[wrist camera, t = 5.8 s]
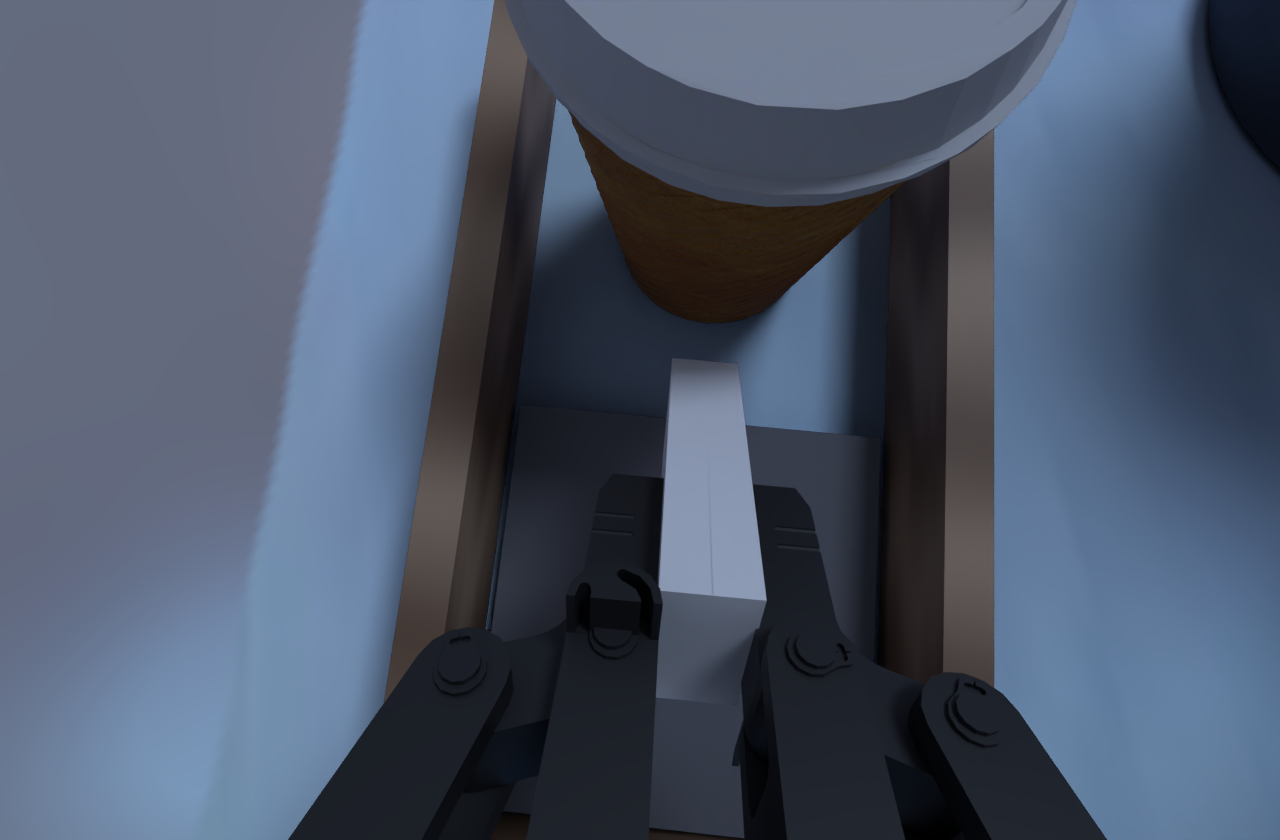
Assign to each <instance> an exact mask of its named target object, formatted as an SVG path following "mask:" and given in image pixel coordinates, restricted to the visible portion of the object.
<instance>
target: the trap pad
mask: <svg viewBox="0 0 1280 840" xmlns="http://www.w3.org/2000/svg"><path fill="white" fill-rule="evenodd" d="M745 428H746V436H747V444H748V452H749V460H750V468H751V477H752V484H756V485H767V486H778V487H789V488H796V490H797V491H798V492H799V493H800V495H801V496H802V497H803V499H804V500H805V501H806V503H807V504H808V505H809V506H810V508H811V512H812V516H813V521H814V525H815V529H816V530H815V534H817V538H818V542H819V547H820V548H819V552H821V555H822V560H823V564H824V568H825V573H826V577H827V581H828V586H829V590H830V594H831V599H832V603H833V607H834V612H835V616H836V620H837V622H838V625H839V628H840V630H841V632H842V633H843V634H844V635H845V636H846V637H847V638H848V639H849V640H850V641H851V642H852V643H853V645H854V647H855V649H856V650H857V651H858V652H859V653H860V654H862V655H863V656H864V657H866V658H867V659H868V660H870V661H871V662H873V663H874V643H875V611H876V578H877V546H878V514H879V481H880V449H881V438H875V437H864V436H854V435H843V434H832V433H822V432H811V431H800V430H790V429H779V428H768V427H758V426H747V425H745ZM665 429H666V418H662V417H651V416H640V415H629V414H619V413H608V412H597V411H587V410H576V409H565V408H555V407H544V406H533V405H523V404H521V410H520V417H519V425H518V432H517V440H516V448H515V455H514V463H513V470H512V478H511V485H510V493H509V501H508V508H507V516H506V523H505V531H504V538H503V546H502V553H501V561H500V569H499V576H498V584H497V591H496V599H495V606H494V614H493V622H492V629H491V632H492V633H493V634H495V635H497V636H498V637H500V638H501V640H502V641H503V642H508V641H512V640H517V639H522V638H527V637H532V636H535V635H538V634H542V633H545V632H547V631H549V630H551V629H553V628H554V627H556V626H558V625H559V624H560V623H562V622H563V621H564V620H565V619H566V593H567V591H568V589H569V587H570V585H571V583H572V580H574V579H575V578H576V577H577V576H578V575H579V574H580V573H581V572H583V571H584V567H585V562H586V557H587V551H588V546H589V541H590V536H591V533H592V525H593V520H594V515H595V510H596V504H597V499H598V494H599V490H600V489H601V488H602V487H603V485H604V484H605V483H606V482H607V480H608V479H609V478H610V477H611V476H612V474H624V475H635V476H647V477H658V478H662V463H663V449H664V439H665ZM742 722H743V704H742V691H741V694H740V698H739V702H738V705H737V706H736V705H726V704H716V703H706V702H696V701H686V700H676V699H666V698H656V702H655V722H654V742H653V761H652V781H651V801H650V820H649V828H658V829H666V830H675V831H684V832H693V833H702V834H711V835H720V836H728V837H737V838H744V824H743V807H742V790H741V773H740V764H739V767H738V766H732V760H733V754H734V749H735V746H736V742H737V739H738V736H739V732H740V729H741V726H742ZM537 781H538V776H535V777H531V778H527V779H524V780H520V781H517V782H516V784H515V786H514V788H513V791H512V793H511V795H510V797H509V799H508V801H507V804H506V806H505V808H504V810H503V811H507V812H516V813H525V814H531V812H532V807H533V801H534V796H535V791H536V786H537Z"/></svg>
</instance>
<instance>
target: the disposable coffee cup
mask: <svg viewBox="0 0 1280 840" xmlns="http://www.w3.org/2000/svg"><path fill="white" fill-rule="evenodd" d="M504 1H505V5H506V8H507V12H508V15H509V17H510V19H511V22H512V24H513V26H514V28H515V30H516V33H517V35H518V37H519V39H520V41H521V43H522V46H523V48H524V50H525V52H526V54H527V57H528V59H529V61H530V62H531V64H532V65H533V66H534V68H535V69H536V71H537V72H538V73H539V75H540V76H541V78H542V79H543V80H544V82H545V83H546V84H547V86H548V87H549V89H550V90H551V91H552V93H553V94H554V96H555V97H556V98H557V100H558V101H559V102H560V103H561V104H562V105H564V106H565V107H566V108H567V109H568V111H569V113H570V115H571V117H572V123H573V125H574V127H575V129H576V132H577V134H578V136H579V141H580V144H581V146H582V148H583V150H584V152H585V157H586V159H587V161H588V163H589V165H590V167H591V173H592V175H593V177H594V179H595V181H596V185H597V189H598V191H599V192H600V196H601V198H602V200H603V202H604V206H605V209H606V211H607V213H608V217H609V219H610V221H611V223H612V227H613V229H614V231H615V233H616V237H617V239H618V241H619V244H620V247H621V249H622V253H623V255H624V258H625V262H626V264H627V266H628V268H629V270H630V272H631V275H632V277H633V279H634V280H635V282H636V283H637V284H638V286H639V287H640V289H641V290H642V291H643V292H644V293H645V294H646V295H647V296H648V297H649V298H650V299H651V300H652V301H653V302H654V303H656V304H657V305H659V306H660V307H662V308H663V309H665V310H667V311H668V312H670V313H672V314H674V315H677V316H680V317H682V318H685V319H687V320H692V321H697V322H703V323H724V322H733V321H738V320H742V319H745V318H748V317H750V316H753V315H755V314H757V313H760V312H762V311H763V310H764V309H766V308H767V307H769V306H770V305H772V304H773V303H774V302H776V301H777V300H778V299H779V298H780V297H781V296H782V295H783V294H784V293H785V292H786V291H787V290H788V289H789V288H790V287H791V286H793V285H794V284H795V283H796V282H797V281H798V280H799V279H800V278H801V277H803V276H804V275H805V274H806V273H807V272H808V271H809V270H810V269H811V268H812V267H813V266H814V265H816V264H817V263H818V262H819V261H820V260H821V259H822V258H823V257H824V256H825V255H826V254H828V253H829V252H830V251H831V250H832V249H833V248H834V247H835V246H836V245H837V244H838V243H839V242H840V241H841V240H842V239H843V238H845V237H846V236H847V235H848V234H850V233H851V232H852V231H853V230H854V229H855V228H856V227H857V226H858V225H859V224H860V223H861V222H863V221H864V220H865V218H866V217H867V216H868V215H870V214H871V213H872V212H873V211H875V210H876V208H877V207H878V206H879V205H880V204H881V203H883V202H884V201H885V200H886V199H887V198H889V197H890V196H891V195H892V194H893V193H894V191H895V190H896V189H898V188H899V187H900V186H901V185H902V184H904V183H905V182H906V181H907V180H909V179H912V178H916V177H919V176H921V175H922V174H924V173H926V172H928V171H930V170H932V169H934V168H935V167H937V166H939V165H941V164H943V163H945V162H947V161H948V160H950V159H952V158H954V157H956V156H958V155H960V154H961V153H963V152H965V151H967V150H969V149H970V148H972V147H973V146H974V145H975V144H976V143H978V142H979V141H980V140H981V139H982V138H984V137H985V136H986V135H987V134H988V133H990V132H991V131H992V130H993V129H994V128H996V127H997V126H998V125H999V124H1000V123H1002V121H1003V120H1004V119H1005V118H1006V117H1007V116H1008V115H1009V114H1010V113H1011V112H1012V111H1013V110H1014V109H1015V108H1016V107H1017V106H1018V105H1019V104H1020V103H1021V102H1022V100H1023V99H1024V98H1025V97H1026V96H1027V95H1028V94H1029V93H1030V92H1031V91H1032V90H1033V89H1034V88H1035V87H1036V86H1037V85H1038V83H1039V81H1040V80H1041V78H1042V76H1043V74H1044V73H1045V71H1046V69H1047V67H1048V66H1049V64H1050V62H1051V60H1052V59H1053V57H1054V55H1055V53H1056V52H1057V50H1058V48H1059V46H1060V45H1061V43H1062V41H1063V39H1064V36H1065V33H1066V30H1067V27H1068V25H1069V22H1070V19H1071V16H1072V13H1073V10H1074V7H1075V4H1076V0H504Z"/></svg>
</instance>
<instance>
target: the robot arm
mask: <svg viewBox="0 0 1280 840" xmlns="http://www.w3.org/2000/svg"><path fill="white" fill-rule="evenodd" d="M1209 36H1210V44H1211V50H1212V55H1213V59H1214V63H1215V67H1216V70H1217V73H1218V77H1219V79H1220V82H1221V84H1222V87H1223V89H1224V92H1225V94H1226V96H1227V98H1228V100H1229V102H1230V104H1231V106H1232V108H1233V109H1234V111H1235V113H1236V115H1237V116H1238V118H1239V120H1240V121H1241V123H1242V124H1243V126H1244V127H1245V129H1246V130H1247V132H1248V133H1249V134H1250V136H1251V137H1252V138H1253V139H1254V141H1255V142H1256V143H1257V145H1258V146H1259V147H1260V148H1261V149H1262V150H1263V151H1264V152H1265V154H1266V155H1267V156H1268V157H1269V158H1270V159H1271V160H1272V161H1273V162H1274V163H1275V164H1276V165H1277V166H1278V167H1279V168H1280V0H1210V4H1209ZM815 530H816V529H815V525H814V521H813V516H812V512H811V508H810V506H809V505H808V504H807V503H806V501H805V500H804V499H803V497H802V496H801V495H800V493H799V492H798V491H797V490H796V488H789V487H778V486H767V485H756V484H752V477H751V468H750V460H749V452H748V444H747V436H746V428H745V419H744V411H743V403H742V395H741V387H740V378H739V370H738V363H726V362H714V361H701V360H689V359H677V358H672V366H671V377H670V387H669V397H668V408H667V418H666V429H665V439H664V449H663V463H662V478H658V477H647V476H635V475H624V474H612V476H611V477H610V478H609V479H608V480H607V482H606V483H605V484H604V485H603V487H602V488H601V489H600V490H599V494H598V499H597V504H596V510H595V515H594V520H593V525H592V533H591V536H590V541H589V546H588V551H587V557H586V562H585V567H584V571H583V572H581V573H580V574H579V575H578V576H577V577H576V578H575V579H574V580H572V583H571V585H570V587H569V589H568V591H567V593H566V619H565V620H564V621H563V622H562V623H560V624H559V625H558V626H556V627H554V628H553V629H551V630H549V631H547V632H545V633H542V634H538V635H535V636H532V637H527V638H522V639H517V640H512V641H508V642H503V641H502V640H501V638H500V637H498V636H497V635H495V634H493V633H492V632H490V631H488V630H486V629H480V628H473V627H466V628H461V629H456V630H451V631H448V632H446V633H445V634H443V635H441V636H439V637H437V638H435V639H434V640H432V641H431V642H430V643H429V644H428V645H427V646H426V647H425V648H424V649H423V650H422V651H421V652H420V653H419V654H418V656H417V657H416V659H415V660H414V661H413V663H412V664H411V666H410V667H409V668H408V670H407V671H406V673H405V674H404V676H403V677H402V678H401V680H400V681H399V683H398V684H397V686H396V687H395V688H394V690H393V691H392V693H391V694H390V696H389V697H388V698H387V700H386V701H385V703H384V704H383V705H382V707H381V708H380V710H379V711H378V713H377V714H376V715H375V717H374V718H373V720H372V721H371V723H370V724H369V725H368V727H367V728H366V730H365V731H364V732H363V734H362V735H361V737H360V738H359V740H358V741H357V742H356V744H355V745H354V747H353V748H352V750H351V751H350V752H349V754H348V755H347V757H346V758H345V759H344V761H343V762H342V764H341V765H340V767H339V768H338V769H337V771H336V772H335V774H334V775H333V777H332V778H331V779H330V781H329V782H328V784H327V785H326V786H325V788H324V789H323V791H322V792H321V794H320V795H319V796H318V798H317V799H316V801H315V802H314V804H313V805H312V806H311V808H310V809H309V811H308V812H307V814H306V815H305V816H304V818H303V819H302V821H301V822H300V823H299V825H298V826H297V828H296V829H295V831H294V832H293V833H292V835H291V836H290V838H289V839H288V840H490V838H491V836H492V834H493V832H494V830H495V828H496V825H497V823H498V821H499V819H500V817H501V815H502V812H503V810H504V808H505V806H506V804H507V801H508V799H509V797H510V795H511V793H512V791H513V788H514V786H515V784H516V782H517V781H520V780H524V779H527V778H531V777H535V776H538V781H537V786H536V791H535V796H534V801H533V807H532V812H531V817H530V822H529V827H528V832H527V837H526V840H649V820H650V801H651V781H652V761H653V742H654V722H655V702H656V698H666V699H676V700H686V701H696V702H706V703H716V704H726V705H736V706H737V705H738V702H739V698H740V694H741V691H742V704H743V722H742V726H741V729H740V732H739V736H738V739H737V742H736V746H735V749H734V754H733V760H732V766H738V767H739V764H740V773H741V790H742V807H743V824H744V840H1107V839H1106V838H1105V836H1104V835H1103V833H1102V832H1101V830H1100V829H1099V827H1098V826H1097V824H1096V823H1095V822H1094V820H1093V819H1092V817H1091V816H1090V814H1089V813H1088V811H1087V810H1086V809H1085V807H1084V806H1083V804H1082V803H1081V801H1080V800H1079V798H1078V797H1077V796H1076V794H1075V793H1074V791H1073V790H1072V788H1071V787H1070V785H1069V784H1068V783H1067V781H1066V780H1065V778H1064V777H1063V775H1062V774H1061V772H1060V771H1059V769H1058V768H1057V767H1056V765H1055V764H1054V762H1053V761H1052V759H1051V758H1050V756H1049V755H1048V754H1047V752H1046V751H1045V749H1044V748H1043V746H1042V745H1041V743H1040V742H1039V741H1038V739H1037V738H1036V736H1035V735H1034V733H1033V732H1032V730H1031V729H1030V728H1029V726H1028V725H1027V723H1026V722H1025V720H1024V719H1023V717H1022V716H1021V714H1020V713H1019V712H1018V711H1017V709H1016V708H1015V707H1014V706H1013V705H1012V704H1011V703H1010V702H1009V700H1008V699H1007V698H1006V697H1005V696H1004V695H1003V694H1002V693H1001V692H999V691H998V690H996V689H995V688H993V687H992V686H990V685H989V684H988V683H986V682H985V681H983V680H980V679H978V678H975V677H973V676H970V675H967V674H965V673H955V672H943V673H941V674H938V675H936V676H933V677H931V678H930V679H929V680H928V682H927V683H926V684H923V683H921V682H918V681H916V680H913V679H911V678H908V677H906V676H903V675H900V674H898V673H895V672H893V671H890V670H888V669H885V668H883V667H881V666H879V665H877V664H875V663H873V662H871V661H870V660H868V659H867V658H866V657H864V656H863V655H862V654H860V653H859V652H858V651H857V650H856V649H855V647H854V645H853V643H852V642H851V641H850V640H849V639H848V638H847V637H846V636H845V635H844V634H843V633H842V632H841V630H840V628H839V625H838V622H837V620H836V616H835V612H834V607H833V603H832V599H831V594H830V590H829V586H828V581H827V577H826V573H825V568H824V564H823V560H822V555H821V552H819V548H820V547H819V542H818V538H817V534H815Z"/></svg>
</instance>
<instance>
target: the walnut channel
mask: <svg viewBox="0 0 1280 840" xmlns="http://www.w3.org/2000/svg"><path fill="white" fill-rule="evenodd" d="M555 104H556V97H555V96H554V94H553V93H552V91H551V90H550V89H549V87H548V86H547V84H546V83H545V82H544V80H543V79H542V78H541V76H540V75H539V73H538V72H537V71H536V69H535V68H534V66H533V65H532V64H531V62H530V61H529V59H528V57H527V54H526V52H525V50H524V48H523V46H522V43H521V41H520V39H519V37H518V35H517V33H516V30H515V28H514V26H513V24H512V22H511V19H510V17H509V15H508V12H507V8H506V5H505V1H504V0H495V1H494V7H493V13H492V20H491V26H490V32H489V39H488V45H487V51H486V58H485V64H484V71H483V77H482V83H481V90H480V96H479V102H478V109H477V115H476V121H475V128H474V134H473V140H472V147H471V153H470V159H469V166H468V172H467V178H466V185H465V191H464V197H463V204H462V210H461V217H460V223H459V229H458V236H457V242H456V248H455V255H454V261H453V267H452V274H451V280H450V286H449V293H448V299H447V305H446V312H445V318H444V324H443V331H442V337H441V343H440V350H439V356H438V362H437V369H436V375H435V382H434V388H433V394H432V401H431V407H430V413H429V420H428V426H427V432H426V439H425V445H424V451H423V458H422V464H421V470H420V477H419V483H418V489H417V496H416V502H415V508H414V515H413V521H412V528H411V534H410V540H409V547H408V553H407V559H406V566H405V572H404V578H403V585H402V591H401V597H400V604H399V610H398V616H397V623H396V629H395V635H394V642H393V648H392V654H391V661H390V667H389V674H388V680H387V686H386V693H385V699H384V703H385V701H386V700H387V698H388V697H389V696H390V694H391V693H392V691H393V690H394V688H395V687H396V686H397V684H398V683H399V681H400V680H401V678H402V677H403V676H404V674H405V673H406V671H407V670H408V668H409V667H410V666H411V664H412V663H413V661H414V660H415V659H416V657H417V656H418V654H419V653H420V652H421V651H422V650H423V649H424V648H425V647H426V646H427V645H428V644H429V643H430V642H431V641H432V640H434V639H435V638H437V637H439V636H441V635H443V634H445V633H446V632H448V631H451V630H456V629H461V628H466V627H473V628H480V629H485V627H486V619H487V612H488V605H489V597H490V590H491V582H492V575H493V567H494V560H495V552H496V545H497V537H498V530H499V522H500V515H501V507H502V500H503V492H504V485H505V478H506V470H507V463H508V455H509V448H510V440H511V433H512V425H513V418H514V410H515V403H516V395H517V388H518V380H519V373H520V365H521V358H522V350H523V343H524V336H525V328H526V321H527V313H528V306H529V298H530V291H531V283H532V276H533V268H534V261H535V253H536V246H537V238H538V231H539V223H540V216H541V209H542V201H543V194H544V186H545V179H546V171H547V164H548V156H549V149H550V141H551V134H552V126H553V119H554V111H555ZM878 665H879V666H881V667H883V668H885V669H888V670H890V671H893V672H895V673H898V674H900V675H903V676H906V677H908V678H911V679H913V680H916V681H918V682H921V683H923V684H926V683H927V682H928V680H929V679H930V678H931V677H933V676H936V675H938V674H941V673H943V672H955V673H965V674H967V675H970V676H973V677H975V678H978V679H980V680H983V681H985V682H986V683H988V684H989V685H990V686H992V687H993V688H994V129H993V130H992V131H991V132H990V133H988V134H987V135H986V136H985V137H984V138H982V139H981V140H980V141H979V142H978V143H976V144H975V145H974V146H973V147H972V148H970V149H969V150H967V151H965V152H963V153H961V154H960V155H958V156H956V157H954V158H952V159H950V160H948V161H947V162H945V163H943V164H941V165H939V166H937V167H935V168H934V169H932V170H930V171H928V172H926V173H924V174H922V175H921V176H919V177H916V178H912V179H909V180H907V181H906V182H905V183H904V184H902V185H901V186H900V187H899V188H898V189H896V190H895V191H894V193H893V194H892V200H891V234H890V267H889V301H888V334H887V367H886V401H885V434H884V468H883V501H882V535H881V568H880V602H879V635H878ZM530 817H531V814H525V813H516V812H507V811H503V812H502V815H501V817H500V819H499V821H498V823H497V825H496V828H495V830H494V832H493V834H492V836H491V838H490V840H526V837H527V832H528V827H529V822H530ZM649 840H744V838H737V837H728V836H720V835H711V834H702V833H693V832H684V831H675V830H666V829H658V828H649Z"/></svg>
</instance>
